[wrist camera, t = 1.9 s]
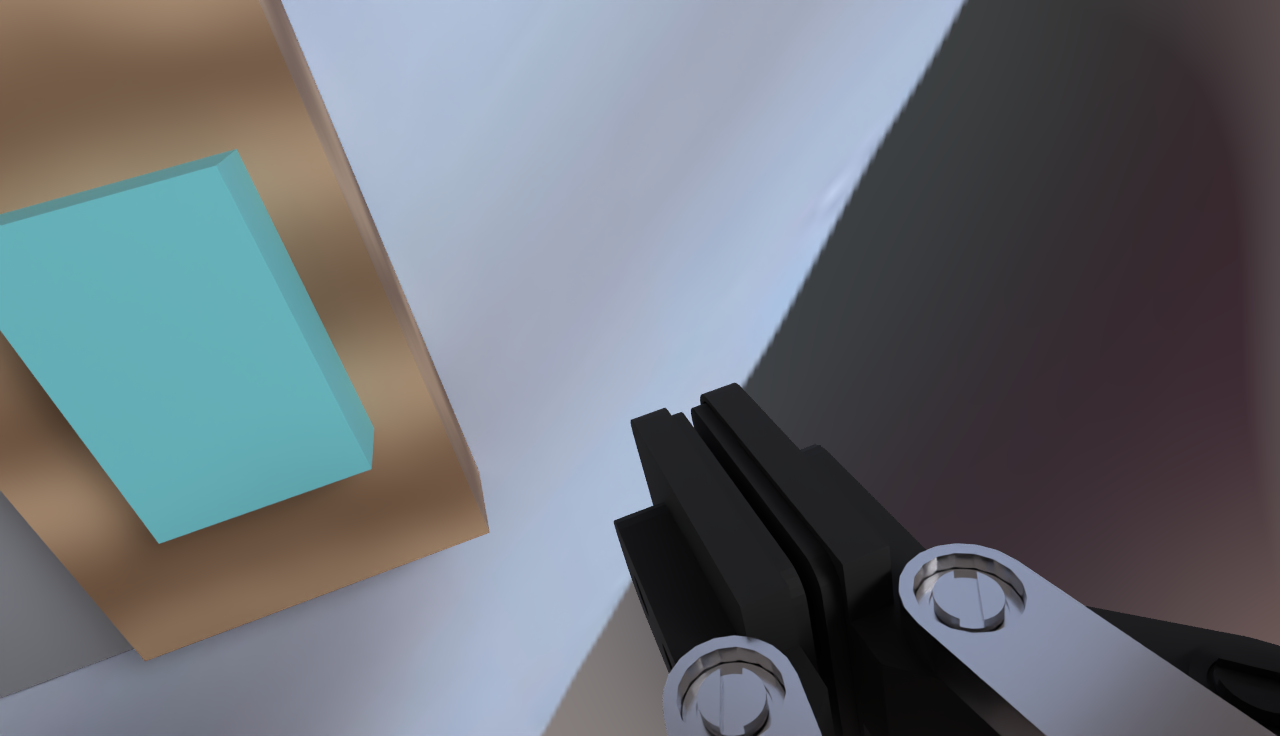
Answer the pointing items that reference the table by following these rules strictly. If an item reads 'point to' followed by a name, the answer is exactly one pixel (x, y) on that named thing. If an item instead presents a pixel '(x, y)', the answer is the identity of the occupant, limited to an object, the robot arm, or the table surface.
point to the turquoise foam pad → (181, 344)
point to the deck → (324, 259)
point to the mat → (44, 612)
